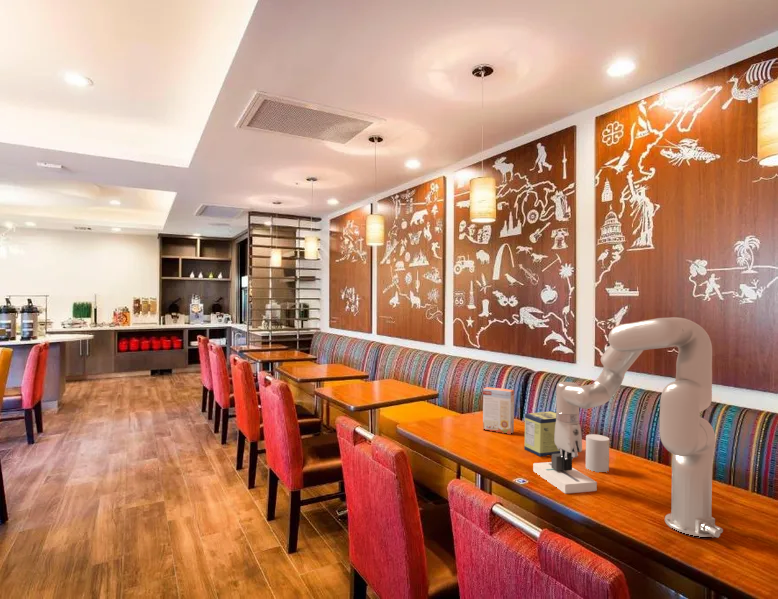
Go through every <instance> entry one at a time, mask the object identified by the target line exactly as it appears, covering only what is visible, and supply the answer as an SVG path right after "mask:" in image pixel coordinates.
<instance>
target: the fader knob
mask: <svg viewBox="0 0 778 599" xmlns="http://www.w3.org/2000/svg"><path fill="white" fill-rule="evenodd" d="M561 458H562V457H561V455H560V453H557V454H552V455H551V462H552V468H553V469H554V470H556V471H559V470H563V469H562V468H561Z"/></svg>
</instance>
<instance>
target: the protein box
mask: <svg viewBox="0 0 778 599" xmlns="http://www.w3.org/2000/svg"><path fill="white" fill-rule="evenodd" d="M555 424H556V411H553V410H551V411H541V412H540V411H539V412H531V413H525V414H524V445H523V446H524V447H523V448H524V450H525V451H527V452H530V453H531V454H533V453H534V455H535V454H536V456H538V457H539V458H541V456H542V457H548V456H547V455H550V456H552V454H557V453H560V450H559V449H558V448H557V446H556V445H555V441H554V434H555Z"/></svg>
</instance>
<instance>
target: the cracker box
mask: <svg viewBox="0 0 778 599" xmlns="http://www.w3.org/2000/svg"><path fill="white" fill-rule="evenodd" d="M482 393H483V395H482V397H483V399H482V430H483V429H485V430H490V431H489V432H492V431H496V432H495V433H498V432H502V433H501V434H504V433H507V434H506V435H512V434H513V433H515V432H514V431H515V389H508V388H500V387H499V388H498V387H491V386H490V387H489V386H487V387H484V388H483V391H482ZM485 430H484V431H485ZM511 433H512V434H511Z"/></svg>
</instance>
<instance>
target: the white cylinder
mask: <svg viewBox="0 0 778 599" xmlns="http://www.w3.org/2000/svg"><path fill="white" fill-rule="evenodd" d="M585 469H586V470H588V469H589V470H588V471H590V470H591V472H593V471H595V472H594V473H599V472H606V473H608V472H609V470H610V438H609V437H608V436H606V435H601V434H596V433H595V434H593V433H591V434H590V433H589V434H586V436H585ZM607 471H608V472H607Z"/></svg>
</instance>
